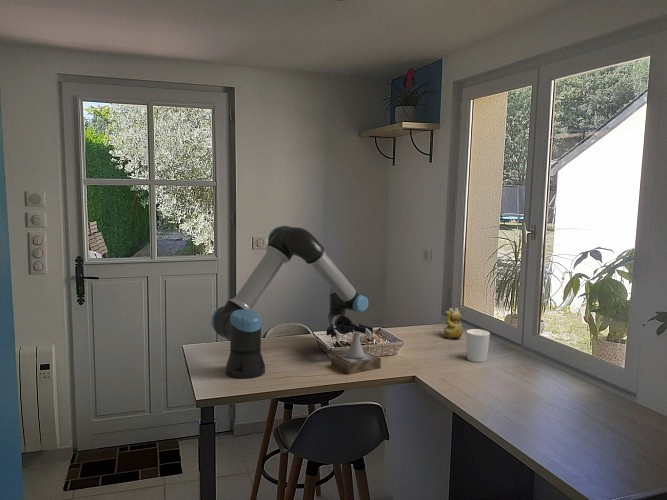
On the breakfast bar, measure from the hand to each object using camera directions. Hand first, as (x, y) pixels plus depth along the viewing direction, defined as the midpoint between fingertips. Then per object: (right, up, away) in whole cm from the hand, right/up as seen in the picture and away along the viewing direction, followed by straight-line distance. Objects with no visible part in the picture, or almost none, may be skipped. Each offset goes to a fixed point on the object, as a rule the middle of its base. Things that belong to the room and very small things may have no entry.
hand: (354, 336), depth 222 cm
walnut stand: (0, -12, -3) cm, 12 cm away
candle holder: (+53, -12, +12) cm, 56 cm away
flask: (0, -8, -3) cm, 9 cm away
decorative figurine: (+51, -8, +46) cm, 69 cm away
